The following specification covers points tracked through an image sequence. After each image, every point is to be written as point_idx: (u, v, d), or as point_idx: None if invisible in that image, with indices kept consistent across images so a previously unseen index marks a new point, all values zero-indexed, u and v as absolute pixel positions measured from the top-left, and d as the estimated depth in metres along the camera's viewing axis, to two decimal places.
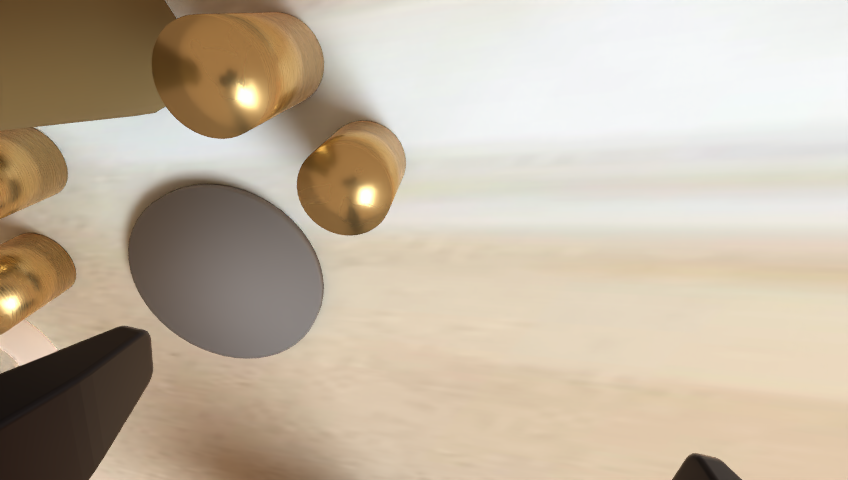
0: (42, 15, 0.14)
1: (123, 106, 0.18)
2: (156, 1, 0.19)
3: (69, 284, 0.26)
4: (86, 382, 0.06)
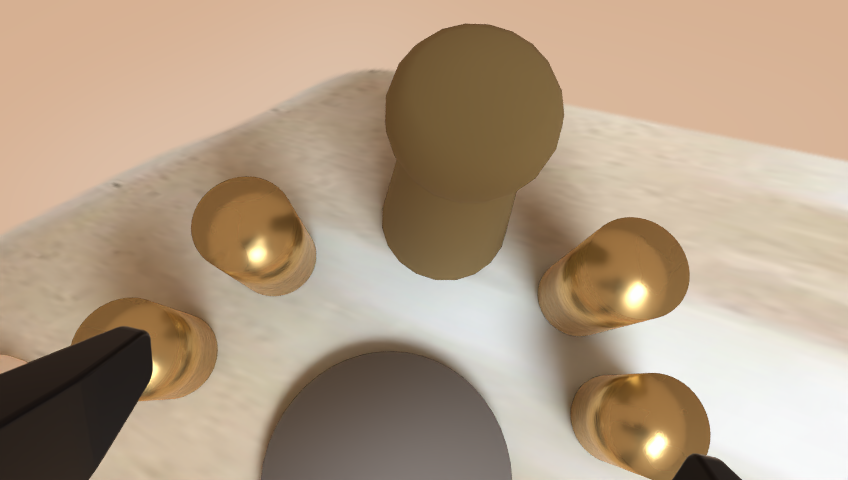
0: None
1: (464, 255, 0.20)
2: None
3: (185, 394, 0.20)
4: (86, 382, 0.06)
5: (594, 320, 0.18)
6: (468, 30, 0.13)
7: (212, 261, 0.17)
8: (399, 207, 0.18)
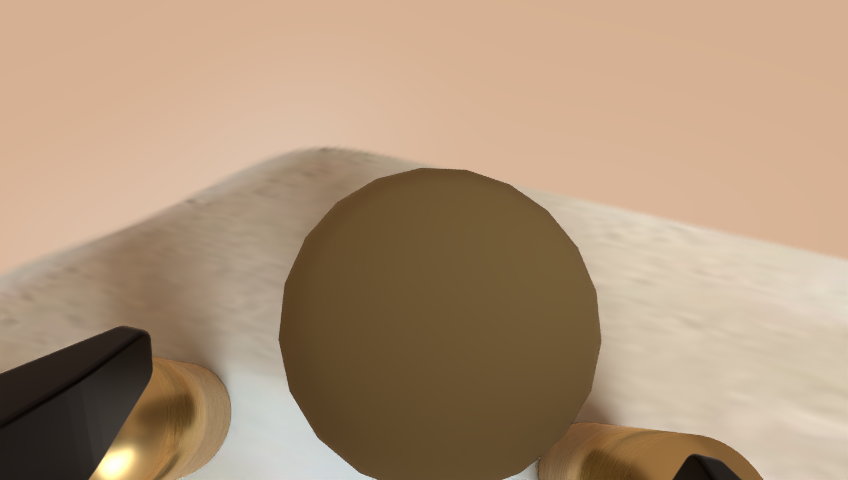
0: None
1: None
2: None
3: None
4: (86, 382, 0.06)
5: None
6: (429, 189, 0.07)
7: None
8: None
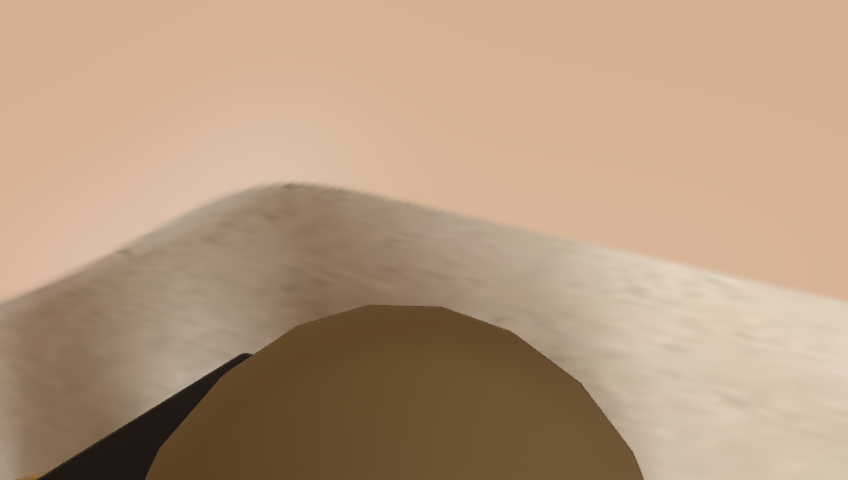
0: None
1: None
2: None
3: None
4: None
5: None
6: (371, 380, 0.04)
7: None
8: None
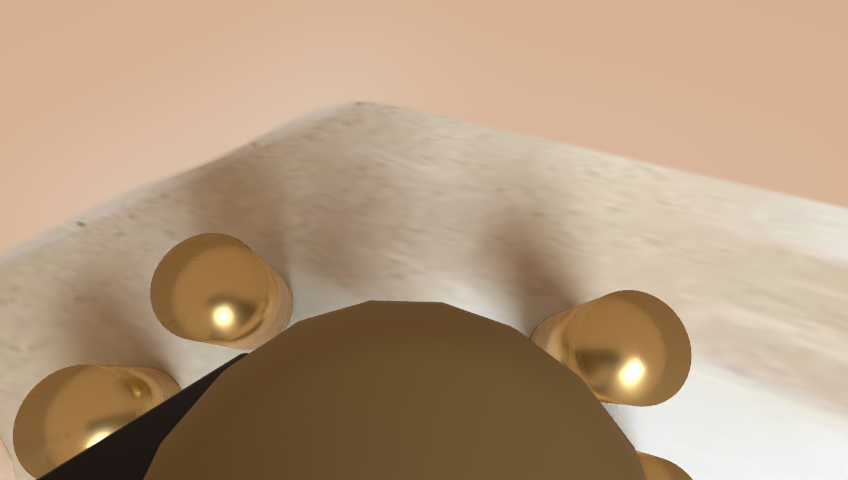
0: None
1: None
2: None
3: None
4: None
5: None
6: (371, 374, 0.04)
7: (172, 329, 0.15)
8: None
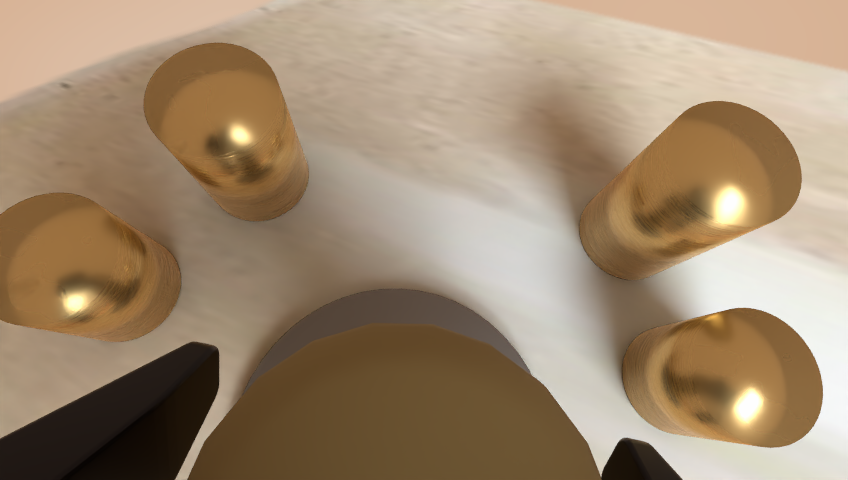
0: None
1: None
2: None
3: (136, 335, 0.15)
4: (169, 401, 0.06)
5: (666, 240, 0.14)
6: (376, 386, 0.05)
7: (169, 142, 0.13)
8: None
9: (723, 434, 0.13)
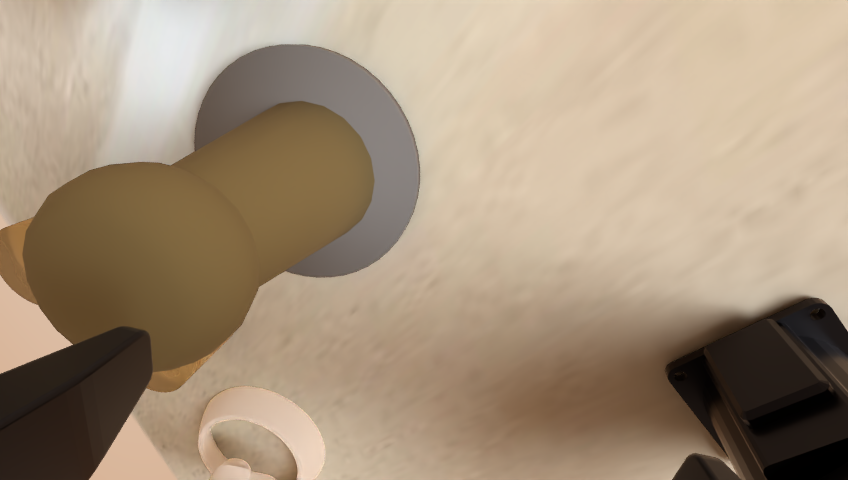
0: (228, 148, 0.14)
1: (341, 197, 0.17)
2: (300, 104, 0.19)
3: None
4: (86, 382, 0.06)
5: None
6: (33, 288, 0.11)
7: None
8: None
9: None
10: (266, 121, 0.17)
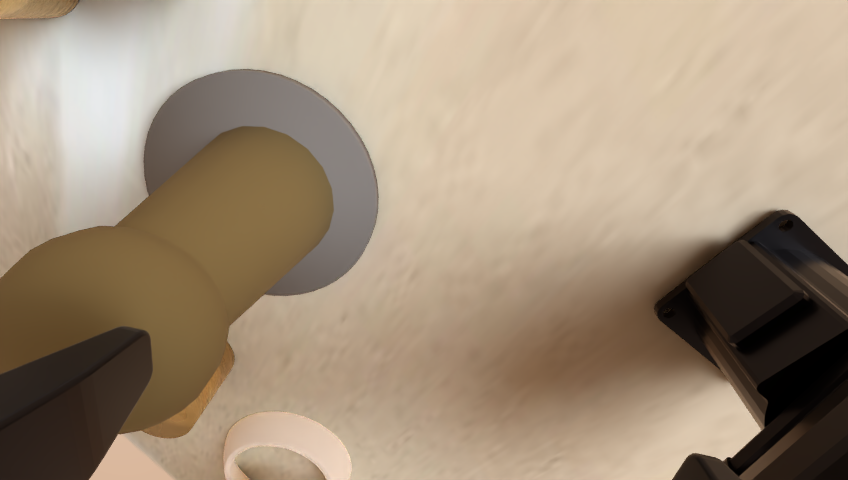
0: (172, 193, 0.14)
1: (299, 213, 0.17)
2: (240, 130, 0.18)
3: None
4: (86, 382, 0.06)
5: None
6: None
7: None
8: None
9: None
10: (207, 156, 0.16)
